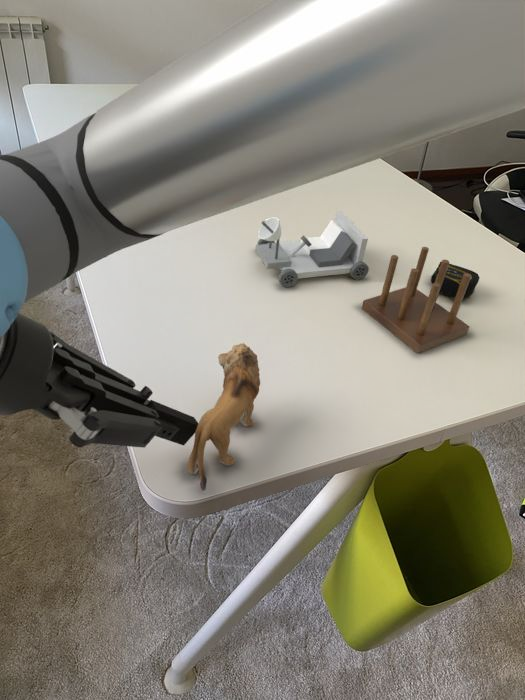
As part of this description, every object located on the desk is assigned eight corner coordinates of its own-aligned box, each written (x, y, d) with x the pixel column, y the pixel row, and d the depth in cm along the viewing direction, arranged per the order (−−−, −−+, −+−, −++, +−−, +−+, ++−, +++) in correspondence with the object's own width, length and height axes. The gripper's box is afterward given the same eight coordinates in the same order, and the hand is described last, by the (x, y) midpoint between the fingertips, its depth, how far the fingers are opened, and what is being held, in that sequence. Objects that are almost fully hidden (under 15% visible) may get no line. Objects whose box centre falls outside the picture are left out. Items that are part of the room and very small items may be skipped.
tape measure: (475, 290, 90) (483, 270, 88) (465, 309, 85) (473, 288, 83) (435, 276, 93) (441, 256, 90) (423, 294, 88) (429, 273, 85)
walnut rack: (466, 334, 80) (489, 278, 74) (417, 353, 76) (436, 295, 70) (409, 293, 88) (425, 239, 82) (361, 308, 83) (374, 252, 77)
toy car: (268, 232, 79) (245, 198, 87) (262, 290, 85) (241, 253, 93) (380, 224, 84) (347, 192, 92) (366, 279, 90) (337, 245, 98)
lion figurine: (219, 391, 66) (222, 332, 61) (262, 401, 66) (269, 342, 60) (179, 488, 55) (178, 426, 49) (230, 500, 54) (235, 439, 49)
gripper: (-69, 340, 44) (141, 417, 62) (-39, 452, 35) (194, 503, 53) (-12, 268, 43) (184, 367, 61) (32, 366, 34) (244, 447, 53)
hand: (188, 431), depth 57 cm, fingers closed
